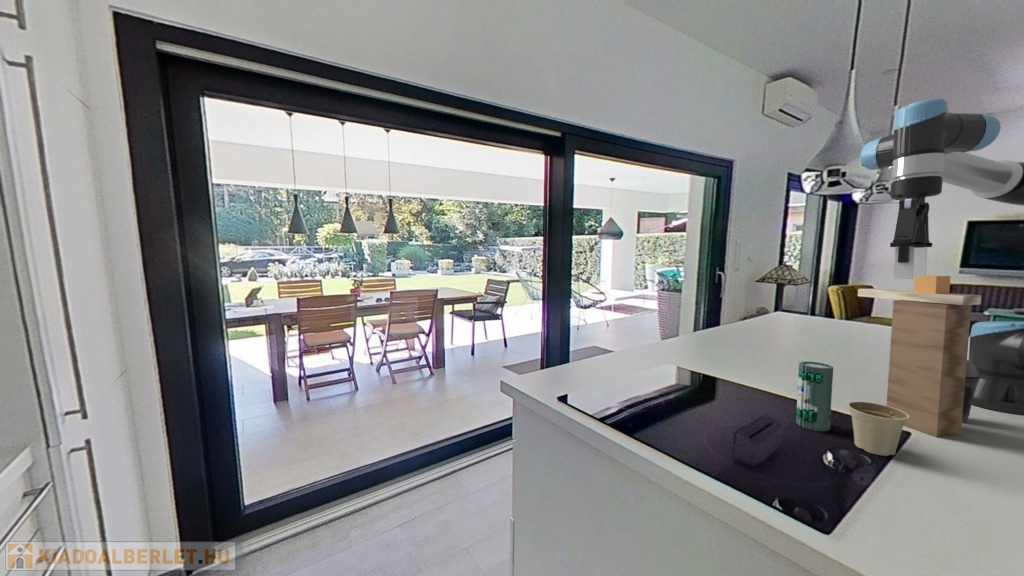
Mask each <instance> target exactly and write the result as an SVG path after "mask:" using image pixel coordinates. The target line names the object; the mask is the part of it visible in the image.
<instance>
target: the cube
mask: <svg viewBox="0 0 1024 576" xmlns="http://www.w3.org/2000/svg"><path fill="white" fill-rule="evenodd" d="M951 277H952V276H951V275H926V274H925V276H914V288H913V291H914V292H915V293H930V294H948V293H950V287H951V279H952V278H951Z"/></svg>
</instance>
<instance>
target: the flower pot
mask: <svg viewBox="0 0 1024 576" xmlns="http://www.w3.org/2000/svg"><path fill="white" fill-rule="evenodd" d="M886 405H887V404H881V403H876V402H870V401H869V402H868V401H861V400H860V401H849V402H847V407H848V409H849V413H850V414H851V415H850V416H851V420H852V429H853V440H854V445H855V446H856V447H857V448H858V449H862V450H864V451H866V452H867V453H869V454H873V455H877V456H882V457H888V456H895V455H896V452H897V448H898V444H899V441H900V437H901V434H902V431H903V427H905V426H904V425H905V424H906V421H907V420H908V419H909V418H910V416H909V415H908V414H907V413H905V412H903V411H901V410H899V409H896V408H893V407H889V406H886Z"/></svg>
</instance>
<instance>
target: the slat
mask: <svg viewBox="0 0 1024 576" xmlns="http://www.w3.org/2000/svg"><path fill="white" fill-rule="evenodd" d="M857 297H862V298H863V297H865V298H876V299H885V300H887V299H888V300H908V301H920V302H932V303H944V304H955V305H971V306H974V305H975V306H976V305H981V303H982V294H981V295H980V294H969V293H967V294H963V293H952V292H951V293H950V292H949V293H948V294H930V293H915V292H914V290H902V289H889V288H888V289H887V288H885V289H884V288H873V287H872V288H858V290H857Z"/></svg>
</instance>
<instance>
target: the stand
mask: <svg viewBox="0 0 1024 576" xmlns="http://www.w3.org/2000/svg"><path fill="white" fill-rule="evenodd" d="M892 303H893V305H892V318H891V319H892V320H891V332H890V334H891V335H890V349H889V360H888V361H889V363H888V365H889V366H888V376H887V377H888V378H887V379H888V380H887V391H886V395H887V396H886V404H885V405H886V406H889V407H893V408H896V409H899V410H901V411H903V412H905V413H907V414H908V415H909V416H910V418H909V419H908V420H907V421H906V424H905V425H904V426H903V427H908V428H910V429H913V430H916V431H918V432H920V433H924V434H927V435H929V436H932V437H934V438H939V437H940V438H942V437H950V436H951V437H952V436H959V435H962V424H963V423H962V414H963V402H964V390H965V378H966V366H967V360H968V354H969V350H968V349H969V342H970V338H969V336H970V330H971V329H970V326H971V316H972V305H955V304H944V303H932V302H920V301H908V300H897V299H893V302H892Z"/></svg>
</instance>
